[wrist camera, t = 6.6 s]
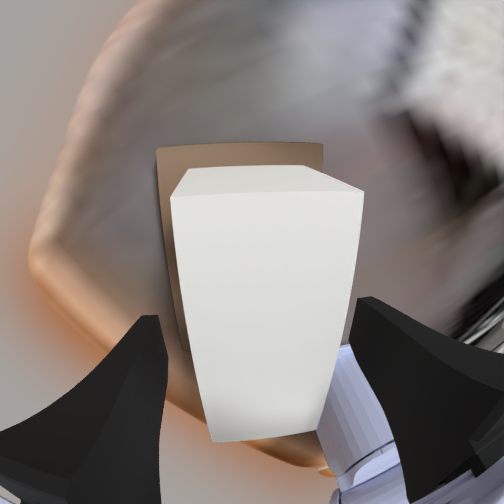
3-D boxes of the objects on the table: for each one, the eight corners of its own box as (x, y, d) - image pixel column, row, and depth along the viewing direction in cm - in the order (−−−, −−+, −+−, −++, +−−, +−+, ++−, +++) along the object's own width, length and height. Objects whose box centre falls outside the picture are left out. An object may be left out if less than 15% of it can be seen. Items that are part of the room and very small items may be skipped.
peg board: (302, 328, 19) (318, 366, 16) (183, 338, 18) (180, 379, 15) (314, 143, 14) (344, 147, 11) (160, 147, 13) (143, 152, 10)
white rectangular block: (291, 356, 15) (316, 429, 11) (208, 364, 15) (212, 442, 10) (303, 165, 11) (364, 191, 7) (188, 168, 11) (170, 197, 6)
